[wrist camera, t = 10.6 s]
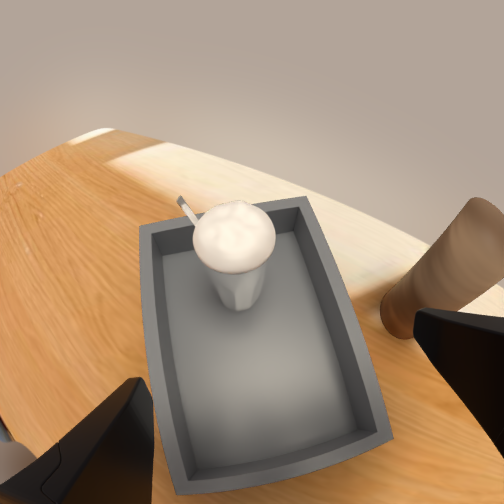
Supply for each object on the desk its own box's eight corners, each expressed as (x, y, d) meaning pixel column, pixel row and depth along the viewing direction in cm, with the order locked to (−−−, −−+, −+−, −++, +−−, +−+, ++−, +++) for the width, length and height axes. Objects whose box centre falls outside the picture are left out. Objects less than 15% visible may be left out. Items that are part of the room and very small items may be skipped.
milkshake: (214, 257, 24) (197, 169, 15) (274, 277, 23) (289, 193, 14) (192, 304, 22) (156, 231, 13) (255, 327, 21) (261, 265, 12)
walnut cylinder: (416, 347, 20) (522, 284, 9) (372, 324, 22) (464, 241, 11) (429, 302, 23) (516, 223, 12) (389, 279, 24) (465, 184, 13)
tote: (367, 434, 17) (393, 438, 13) (190, 478, 15) (176, 495, 11) (298, 227, 27) (306, 195, 23) (154, 254, 25) (139, 225, 21)
